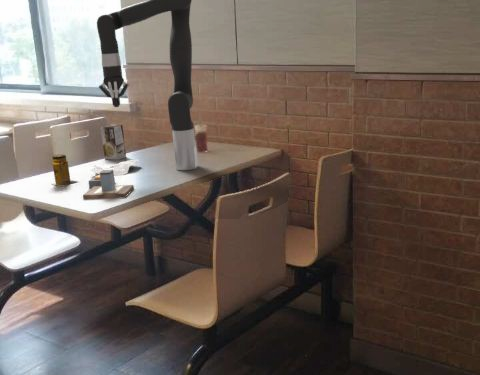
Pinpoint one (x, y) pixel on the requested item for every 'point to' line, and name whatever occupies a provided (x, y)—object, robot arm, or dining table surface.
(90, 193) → the drawing board
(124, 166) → the paper
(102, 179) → the grey rectangular box
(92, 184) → the button housing
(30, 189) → the dining table surface
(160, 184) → the dining table surface
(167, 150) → the dining table surface
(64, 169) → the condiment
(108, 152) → the coffee box
